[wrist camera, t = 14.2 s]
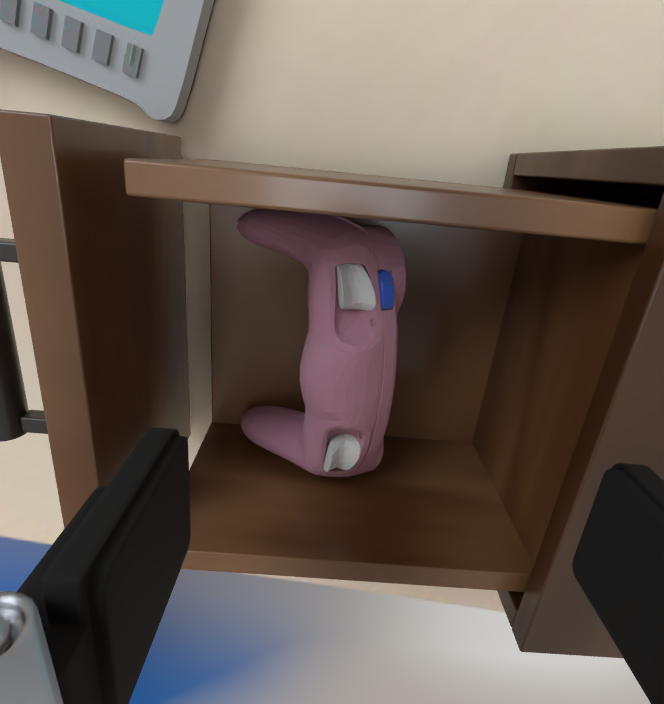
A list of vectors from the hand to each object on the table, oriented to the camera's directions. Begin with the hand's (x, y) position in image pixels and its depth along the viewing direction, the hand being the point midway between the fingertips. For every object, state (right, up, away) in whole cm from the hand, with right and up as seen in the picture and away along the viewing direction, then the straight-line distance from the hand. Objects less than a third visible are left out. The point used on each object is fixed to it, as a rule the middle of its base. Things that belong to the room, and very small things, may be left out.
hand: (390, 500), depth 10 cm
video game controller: (-2, +4, +9) cm, 11 cm away
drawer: (-3, +5, +10) cm, 12 cm away
